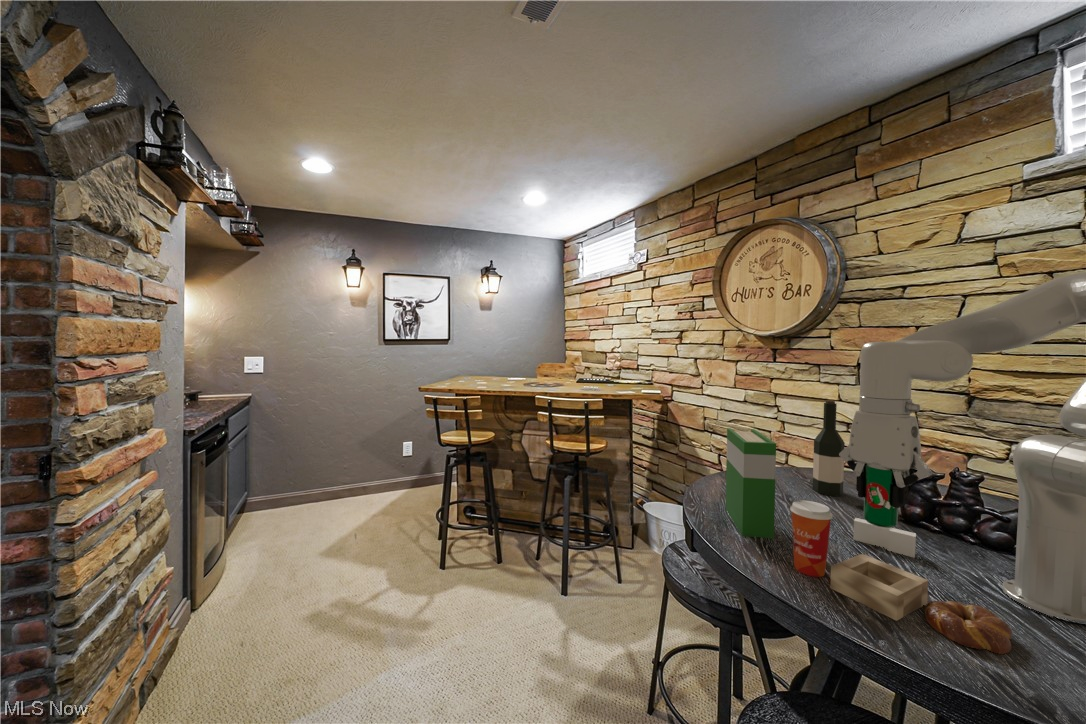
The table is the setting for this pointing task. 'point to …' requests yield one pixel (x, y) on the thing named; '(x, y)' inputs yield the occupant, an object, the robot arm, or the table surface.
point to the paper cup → (810, 536)
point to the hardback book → (751, 482)
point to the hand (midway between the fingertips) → (880, 500)
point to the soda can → (879, 496)
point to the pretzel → (969, 625)
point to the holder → (879, 586)
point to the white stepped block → (885, 537)
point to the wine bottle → (828, 455)
